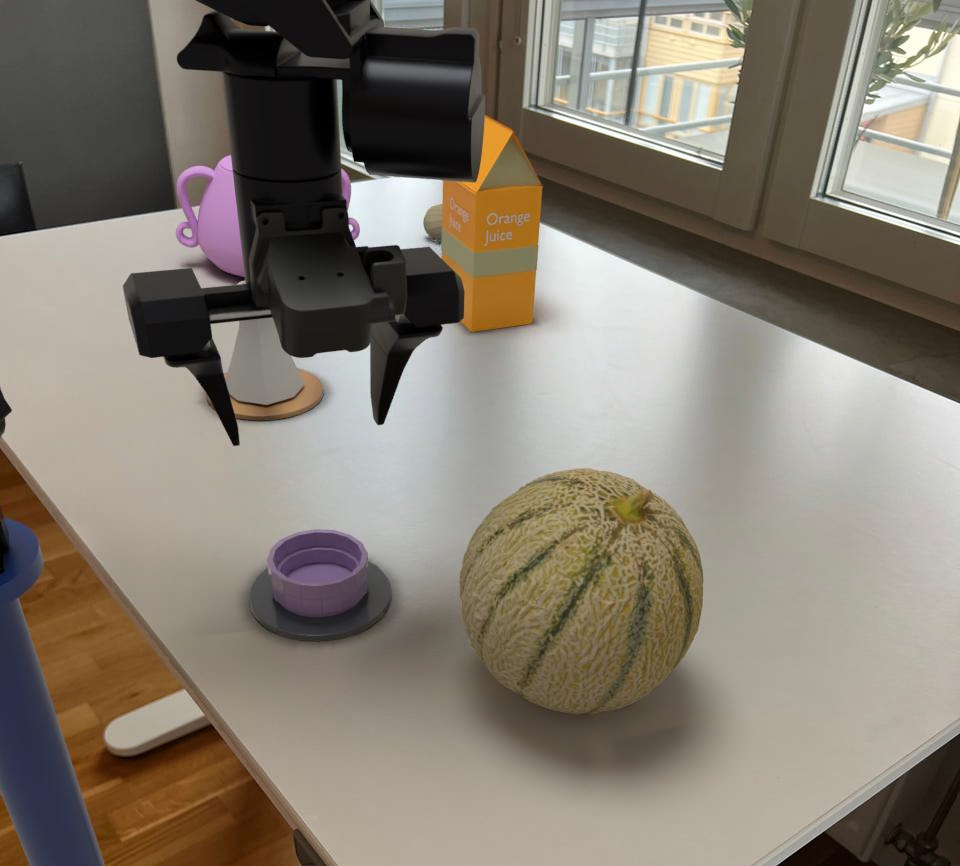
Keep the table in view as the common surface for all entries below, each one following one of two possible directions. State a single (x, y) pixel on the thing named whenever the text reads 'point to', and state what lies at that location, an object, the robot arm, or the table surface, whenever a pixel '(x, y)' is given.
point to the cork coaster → (281, 402)
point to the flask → (261, 365)
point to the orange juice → (495, 233)
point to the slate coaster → (322, 627)
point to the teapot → (223, 216)
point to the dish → (318, 572)
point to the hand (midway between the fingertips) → (308, 432)
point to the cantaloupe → (581, 591)
